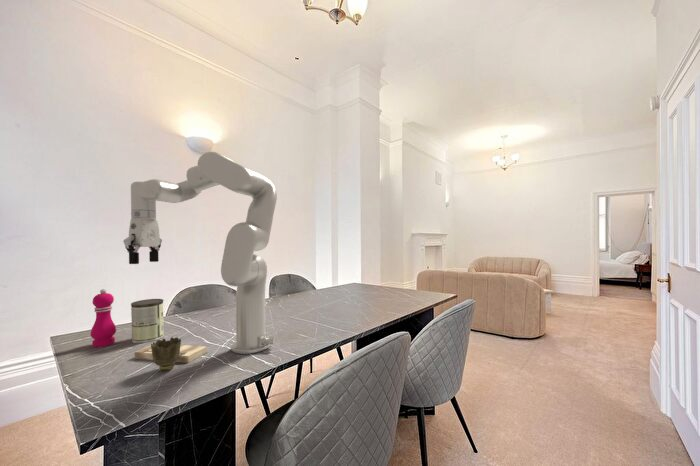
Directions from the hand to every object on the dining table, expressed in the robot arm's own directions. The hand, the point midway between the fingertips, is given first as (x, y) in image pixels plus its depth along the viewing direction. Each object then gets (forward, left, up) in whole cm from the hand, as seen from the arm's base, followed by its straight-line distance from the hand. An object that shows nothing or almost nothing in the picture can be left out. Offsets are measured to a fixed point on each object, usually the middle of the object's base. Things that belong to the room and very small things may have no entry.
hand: (144, 262), depth 110 cm
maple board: (-19, +9, -29) cm, 36 cm away
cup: (-26, +18, -29) cm, 43 cm away
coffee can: (+4, -4, -29) cm, 30 cm away
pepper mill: (+15, +4, -29) cm, 33 cm away
